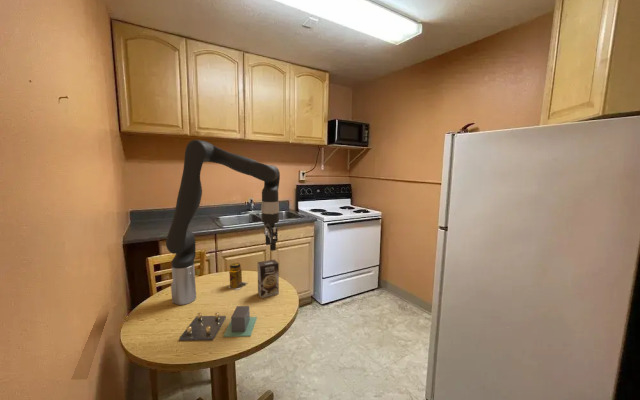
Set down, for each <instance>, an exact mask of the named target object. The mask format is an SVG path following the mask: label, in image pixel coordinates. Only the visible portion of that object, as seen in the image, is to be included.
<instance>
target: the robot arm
mask: <svg viewBox="0 0 640 400" xmlns="http://www.w3.org/2000/svg"><path fill="white" fill-rule="evenodd" d="M183 161H184V163H183V170H182V175H181V181H180V186H179V190H178V193H177V199H176V205H175V209H174V213H173V217H172V222H171V225H170V227H169V230H168V233H167V236H166V241H165V244H166V245H165V246H166V248H167V250H168V252H169V253H171V254H174V257H173V258H172V260H171V271H172V272H171V274H172V275H171V276H172V282H171V283H170V289H171V301H172V302H171V303H172V304H175V305H178V306H179V305H180V306H181V305H184V306H185V305H187V304H190V303H193V302H194V301H196V299H197V290H196V289H197V288H196V272H195V271H196V270H195V259H196V237H195V235H194V233H193V232H192V231H191V230H190V229H188V228H189V225H190V223H191V222H192V220H193V218H194V217H195V215H196V213H197V211H198V209H199V208H200V204H201V201H202V195H203V188H202V182H201V172H202V168H203V164H204V163H207V162H208V163H215V164H220V165H223V166H225V167H227V168H228V169H231V170H233V171H235V172H237V173H240V174H243V175H247V176H250V177H253V178H255V179H257V180H259V181H262V182H263V184H264V186H263V188H262V190H261V205H260V207H261V209H260V210H261V212H260V213H261V223H263V234H264V237H265V245H266V246H270V248H269V249H270V251H271V252H274V251H276V249H277V248H276V247H277V242H278V241H279V239H278V235H279V234H278V227H276V224H277V223H279V221H280V205H279V187H280V179H281V177H280V176H281V174H280V170H279V168H278V167H277V166H276V165H274V164H273V165H272V164H265V163H261V162H259V161H257V160H256V159H253V158H249V157H246V156H243V155H239V154H238V153H237V154H236V153H233V152H230V151H226V150H224V149H222V148H219V147H218V146H216V145H213V144H212V143H210V142H209V141H206V140H200V139H193V140H191V141H189V142H188V143H187V144H186V147H185V152H184V160H183Z"/></svg>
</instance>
